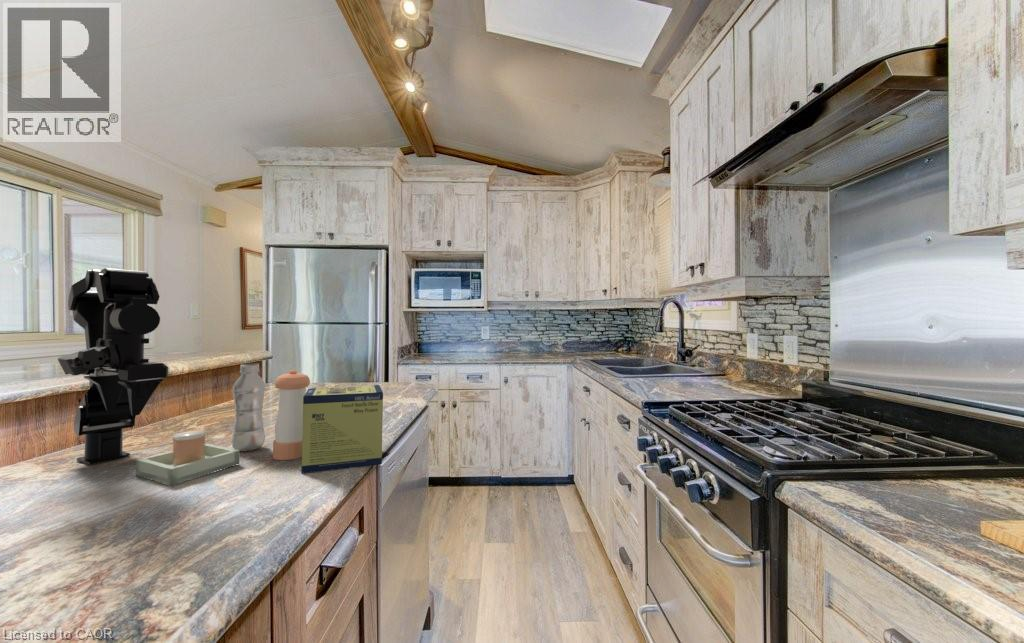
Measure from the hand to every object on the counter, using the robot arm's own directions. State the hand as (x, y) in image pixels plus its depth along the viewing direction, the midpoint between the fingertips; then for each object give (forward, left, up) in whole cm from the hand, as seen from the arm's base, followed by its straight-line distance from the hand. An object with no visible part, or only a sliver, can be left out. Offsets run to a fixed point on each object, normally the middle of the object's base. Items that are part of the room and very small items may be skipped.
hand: (122, 412), depth 78 cm
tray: (+10, +7, -12) cm, 17 cm away
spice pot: (+10, +7, -11) cm, 16 cm away
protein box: (+34, +24, -12) cm, 43 cm away
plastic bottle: (+8, +20, -12) cm, 24 cm away
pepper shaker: (+20, +22, -12) cm, 32 cm away
